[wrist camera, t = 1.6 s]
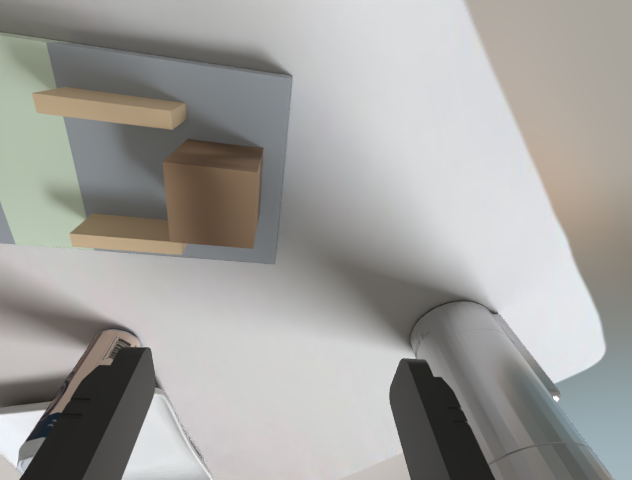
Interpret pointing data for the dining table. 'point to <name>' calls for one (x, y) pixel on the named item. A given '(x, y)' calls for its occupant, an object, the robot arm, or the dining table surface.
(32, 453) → the beer can
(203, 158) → the block
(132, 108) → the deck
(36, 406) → the salad plate
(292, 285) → the dining table surface
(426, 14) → the dining table surface
